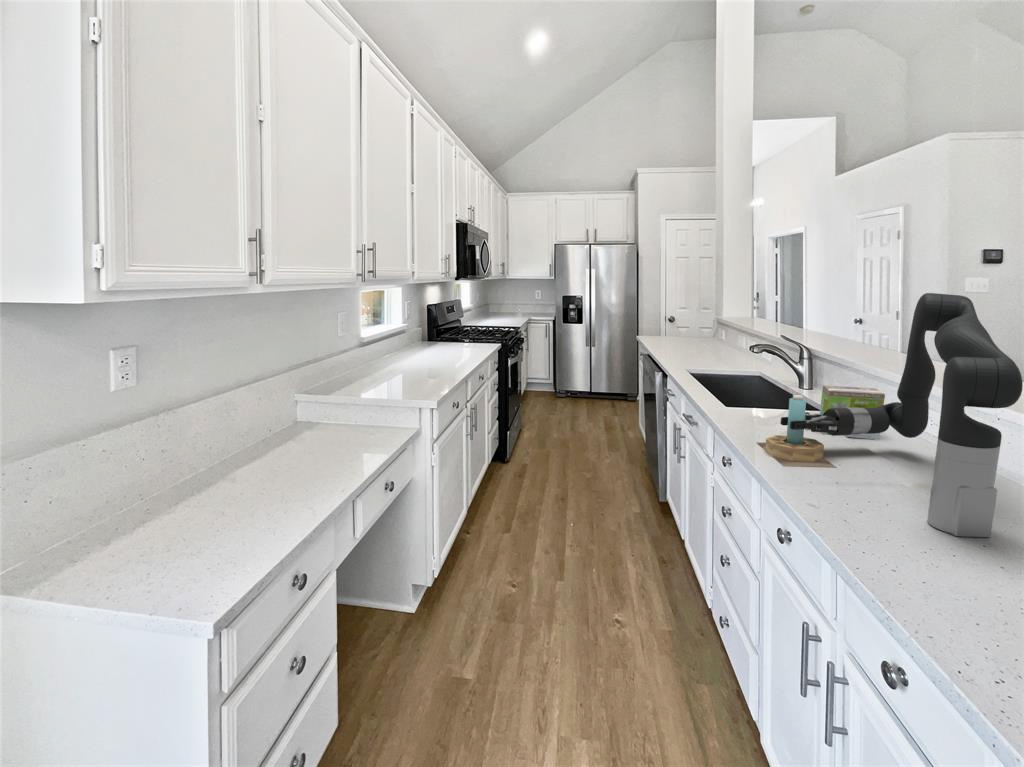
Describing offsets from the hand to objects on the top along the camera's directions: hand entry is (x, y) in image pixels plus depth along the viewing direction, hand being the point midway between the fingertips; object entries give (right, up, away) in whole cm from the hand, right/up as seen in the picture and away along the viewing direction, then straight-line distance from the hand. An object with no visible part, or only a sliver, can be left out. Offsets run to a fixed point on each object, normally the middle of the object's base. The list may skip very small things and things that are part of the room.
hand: (786, 423), depth 150 cm
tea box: (+32, -6, +26) cm, 41 cm away
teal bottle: (+3, -8, +2) cm, 9 cm away
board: (+3, -10, +2) cm, 10 cm away
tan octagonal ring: (+3, -9, +2) cm, 9 cm away
